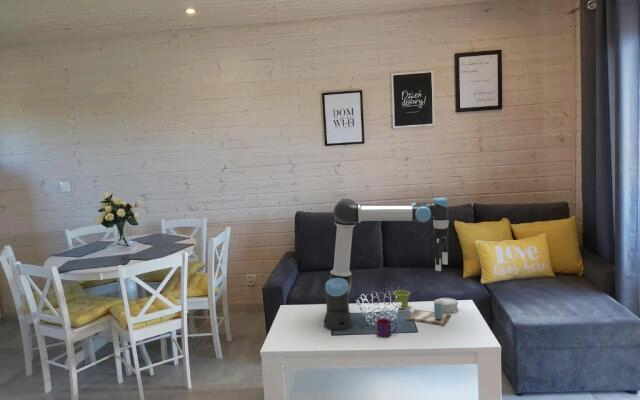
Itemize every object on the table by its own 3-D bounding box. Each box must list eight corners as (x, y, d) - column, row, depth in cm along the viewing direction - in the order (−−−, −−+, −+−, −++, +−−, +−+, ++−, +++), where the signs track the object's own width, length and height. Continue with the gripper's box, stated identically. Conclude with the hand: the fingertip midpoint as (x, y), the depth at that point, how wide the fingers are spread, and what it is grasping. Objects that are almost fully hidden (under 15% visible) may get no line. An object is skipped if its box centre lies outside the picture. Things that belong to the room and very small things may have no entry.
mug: (376, 332, 220) (376, 318, 219) (397, 331, 219) (396, 318, 218) (377, 337, 213) (377, 324, 212) (398, 337, 212) (398, 323, 212)
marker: (434, 320, 229) (434, 301, 228) (436, 317, 232) (435, 299, 230) (441, 321, 227) (440, 301, 226) (442, 318, 230) (442, 299, 229)
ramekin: (457, 307, 248) (457, 298, 248) (458, 314, 238) (458, 305, 237) (437, 306, 251) (436, 297, 251) (436, 313, 241) (436, 304, 240)
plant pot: (400, 303, 258) (399, 289, 257) (413, 307, 251) (413, 292, 250) (390, 308, 252) (389, 293, 251) (403, 311, 245) (403, 296, 244)
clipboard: (406, 320, 233) (405, 317, 233) (414, 310, 246) (414, 308, 246) (444, 325, 223) (444, 323, 223) (451, 315, 236) (451, 313, 236)
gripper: (442, 232, 218) (442, 274, 220) (453, 223, 239) (454, 262, 242) (427, 231, 222) (427, 272, 224) (440, 223, 243) (440, 261, 245)
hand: (441, 267), depth 233 cm, fingers open, 13 cm apart
